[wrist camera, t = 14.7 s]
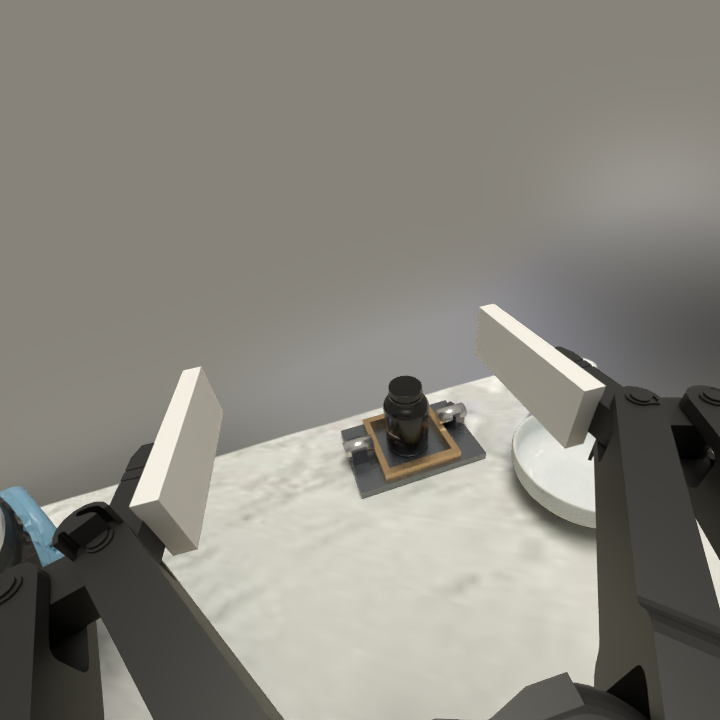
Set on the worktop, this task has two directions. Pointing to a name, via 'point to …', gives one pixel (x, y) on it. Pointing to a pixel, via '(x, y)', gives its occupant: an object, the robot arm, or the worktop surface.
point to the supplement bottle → (406, 417)
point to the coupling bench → (390, 470)
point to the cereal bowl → (556, 472)
